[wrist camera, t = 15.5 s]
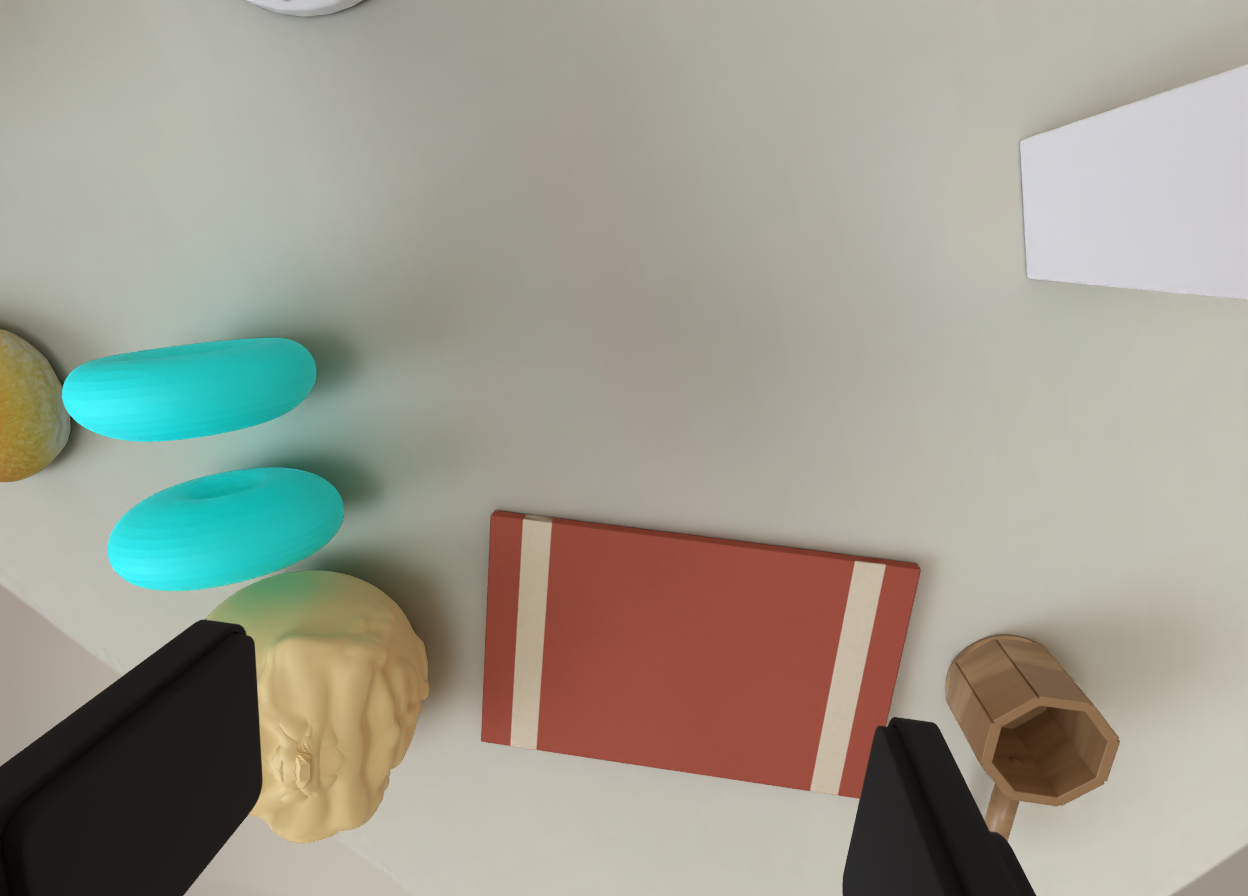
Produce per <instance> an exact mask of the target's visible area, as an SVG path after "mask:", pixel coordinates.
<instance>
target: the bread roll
mask: <svg viewBox="0 0 1248 896" xmlns="http://www.w3.org/2000/svg"><path fill="white" fill-rule="evenodd" d="M70 429H71V425H70V415H69V413H68V412H67V410H66V408H65V406H64V403H63V399H62V386H61V384H60V382H59V380H58V378H57V377H56V375H55V373H54V371H53V369H52V367H51V366H50V364H49V362H48V361H47V359H46V358H45V357H44V356H43V355H42V354H41V353H40V352H39V351H38V350H37V349H36V348H35V347H34V346H32V345H31V344H29V343H28V342H27V341H25V340H24V339H22V338H20V337H19V336H17V335H15V334H13V333H11V332H8V331H6V330H2V329H0V482H13V481H18V480H22V479H25V478H27V477H30V476H32V475H34V474H35V473H37V472H39V471H40V470H42V469H43V468H45V467H46V466H47V465H49V464H50V463H51V462H52V461H53V460H54V459H55V458H56V456H57V455H58V454H59V453H60V452H61V450H62V449H63V448H64V447H65V445H66V444H67V441H68V438H69V434H70Z"/></svg>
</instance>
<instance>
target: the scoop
mask: <svg viewBox="0 0 1248 896" xmlns="http://www.w3.org/2000/svg"><path fill="white" fill-rule="evenodd" d="M946 691H947V696H946V700H947V703H948V705H949V707H950V709H951V711H952V713H953V714H954V716H955V718H956V720H957V722H958V724H959V726H960V728H961V729H962V731H963V733H964V735H965V737H966V739H967V741H968V742H969V744H970V746H971V748H972V750H973V752H974V754H975V755H976V757H977V759H978V761H979V763H980V765H981V766H982V768H983V769H984V770H985V771H986V772H987V774H988V775H989V776H990V777H991V779H992V780H993V781H994V782H995V784H994V788H993V792H992V795H991V799H990V802H989V806H988V809H987V813H986V817H985V820H984V821H985V823H986V825H987V827H988V829H989V831H991V832H998V833H999V834H1000V835H1002V836H1003V837H1005V839H1006V840H1007V842H1008V838H1009V835H1010V831H1011V828H1012V825H1013V821H1014V818H1015V814H1016V811H1017V808H1018V804H1019V801H1025V802H1032V803H1038V804H1045V805H1052V806H1059V804H1060V805H1061V806H1062V805H1064V804H1066V803H1068V802H1070V801H1072V800H1074V799H1076V798H1078V797H1080V796H1082V795H1083V794H1085V793H1087V792H1089V791H1091V790H1093V789H1095V788H1097V787H1099V786H1101V785H1103V784H1104V781H1107V779H1108V776H1109V773H1110V770H1111V767H1112V764H1113V761H1114V758H1115V755H1116V752H1117V749H1118V746H1119V743H1120V741H1119V740H1118V739H1119V737H1118V736H1117V734H1116V733H1115V732H1114V730H1113V729H1112V728H1111V727H1110V725H1109V724H1108V723H1107V721H1106V720H1105V719H1104V717H1103V716H1102V715H1101V714H1100V712H1099V711H1098V710H1097V708H1096V707H1095V706H1094V704H1093V703H1092V702H1091V701H1090V700H1089V699H1088V697H1087V696H1086V695H1085V694H1084V693H1083V692H1082V690H1081V689H1080V688H1079V687H1078V686H1077V685H1076V683H1075V682H1074V681H1073V680H1072V679H1071V678H1070V676H1069V675H1068V674H1067V673H1066V672H1065V671H1064V669H1063V668H1062V667H1061V666H1060V665H1059V663H1058V662H1057V661H1056V660H1055V659H1054V658H1053V656H1052V655H1051V654H1050V653H1049V652H1048V651H1047V649H1046V648H1045V647H1044V646H1043V645H1041V644H1037V643H1035V642H1033V641H1030V640H1028V639H1025V638H1022V637H1017V636H1008V635H1004V636H994V637H989V638H985V639H983V640H980V641H977V642H976V643H974V644H972V645H970V646H969V647H967V648H966V649H965V650H963V651H962V652H961V653H960V654H959V655H958V656H957V657H956V659H955V660H954V662H953V663H952V665H951V667H950V669H949V671H948V674H947V680H946Z"/></svg>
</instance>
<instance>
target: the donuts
mask: <svg viewBox="0 0 1248 896" xmlns="http://www.w3.org/2000/svg"><path fill="white" fill-rule="evenodd" d="M316 377H317V368H316V364H315V361H314V359H313V357H312V355H311V353H310V352H309V351H308V350H307V349H306V348H305V347H304V346H302V345H301V344H299V343H297V342H295V341H293V340H289V339H285V338H251V339H238V340H227V341H216V342H207V343H197V344H191V345H181V346H173V347H167V348H158V349H151V350H144V351H138V352H132V353H125V354H119V355H114V356H109V357H104V358H100V359H96V360H92V361H89V362H86V363H84V364H82V365H80V366H78V367H77V368H75V369H74V370H73V371H72V372H71V373H70V374H69V375H68V377H67V378H66V380H65V382H64V385H63V388H62V399H63V403H64V406H65V408H66V410H67V412H68V413H69V415H70V416H71V417H72V418H73V419H74V420H75V421H76V422H78V423H79V424H80V425H82V426H83V427H85V428H86V429H88V430H91V431H93V432H95V433H97V434H100V435H103V436H107V437H110V438H115V439H120V440H127V441H143V442H152V441H170V440H181V439H190V438H196V437H204V436H209V435H215V434H221V433H225V432H230V431H235V430H239V429H243V428H247V427H251V426H254V425H258V424H261V423H264V422H267V421H270V420H272V419H275V418H277V417H279V416H281V415H284V414H285V413H287V412H289V411H290V410H292V409H293V408H295V407H296V406H298V405H299V404H300V403H301V402H302V401H303V400H304V399H305V398H306V397H307V396H308V395H309V394H310V392H311V390H312V388H313V386H314V384H315V381H316ZM343 517H344V505H343V500H342V498H341V496H340V494H339V492H338V491H337V490H336V488H335V487H334V486H333V485H332V484H330V483H329V482H328V481H327V480H325V479H324V478H322V477H320V476H318V475H316V474H313V473H310V472H307V471H303V470H299V469H293V468H281V467H265V468H251V469H243V470H235V471H230V472H224V473H219V474H214V475H210V476H206V477H201V478H198V479H194V480H190V481H187V482H184V483H181V484H178V485H175V486H172V487H170V488H167V489H165V490H163V491H160V492H158V493H156V494H154V495H152V496H150V497H148V498H146V499H145V500H143V501H142V502H140V503H139V504H137V505H136V506H134V507H133V508H132V509H131V510H129V511H128V512H127V513H126V514H125V515H124V516H123V517H122V518H121V519H120V521H119V522H118V523H117V524H116V526H115V527H114V529H113V531H112V533H111V535H110V538H109V542H108V557H109V560H110V564H111V566H112V567H113V568H114V570H115V571H116V573H117V574H118V575H120V576H121V577H122V578H123V579H125V580H126V581H128V582H130V583H132V584H134V585H137V586H140V587H143V588H147V589H153V590H163V591H188V590H199V589H206V588H212V587H219V586H224V585H228V584H233V583H238V582H242V581H246V580H249V579H253V578H256V577H259V576H263V575H266V574H269V573H271V572H275V571H278V570H280V569H282V568H285V567H287V566H290V565H292V564H294V563H296V562H298V561H300V560H302V559H304V558H306V557H308V556H310V555H311V554H313V553H315V552H316V551H318V550H319V549H321V548H322V547H323V546H325V545H326V544H327V543H328V542H329V541H330V540H331V539H332V538H333V537H334V535H335V534H336V533H337V531H338V530H339V528H340V526H341V523H342V521H343Z"/></svg>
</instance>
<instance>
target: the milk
mask: <svg viewBox="0 0 1248 896" xmlns="http://www.w3.org/2000/svg"><path fill="white" fill-rule="evenodd" d="M1020 152H1021V171H1022V190H1023V209H1024V228H1025V247H1026V266H1027V278H1029V279H1036V280H1047V281H1057V282H1068V283H1078V284H1088V285H1099V286H1109V287H1119V288H1130V289H1140V290H1150V291H1161V292H1171V293H1182V294H1192V295H1202V296H1213V297H1223V298H1233V299H1244V300H1248V64H1245V65H1242V66H1239V67H1236V68H1233V69H1230V70H1227V71H1224V72H1221V73H1218V74H1215V75H1212V76H1209V77H1207V78H1204V79H1201V80H1198V81H1195V82H1192V83H1189V84H1186V85H1183V86H1180V87H1177V88H1174V89H1171V90H1168V91H1165V92H1162V93H1159V94H1156V95H1153V96H1150V97H1147V98H1144V99H1141V100H1138V101H1135V102H1132V103H1129V104H1126V105H1124V106H1121V107H1118V108H1115V109H1112V110H1109V111H1106V112H1103V113H1100V114H1097V115H1094V116H1091V117H1088V118H1085V119H1082V120H1079V121H1076V122H1073V123H1070V124H1067V125H1064V126H1061V127H1058V128H1055V129H1052V130H1049V131H1046V132H1043V133H1041V134H1038V135H1035V136H1032V137H1029V138H1026V139H1023V140H1021V141H1020Z"/></svg>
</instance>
